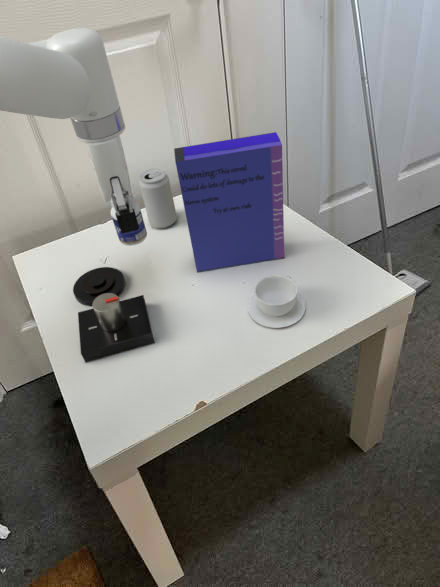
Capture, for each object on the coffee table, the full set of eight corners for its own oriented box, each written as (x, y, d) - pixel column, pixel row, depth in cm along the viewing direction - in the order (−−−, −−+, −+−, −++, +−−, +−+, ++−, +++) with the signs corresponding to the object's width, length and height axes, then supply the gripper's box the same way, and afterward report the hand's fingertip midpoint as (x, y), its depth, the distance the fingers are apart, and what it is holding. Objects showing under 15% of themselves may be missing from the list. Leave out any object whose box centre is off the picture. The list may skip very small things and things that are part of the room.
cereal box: (279, 243, 94) (275, 131, 77) (284, 258, 90) (282, 143, 74) (195, 257, 94) (173, 147, 77) (197, 272, 90) (175, 160, 74)
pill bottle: (117, 233, 86) (104, 192, 80) (144, 226, 87) (133, 184, 81) (121, 249, 82) (108, 207, 76) (150, 241, 83) (138, 199, 77)
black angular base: (85, 362, 77) (80, 353, 75) (82, 321, 84) (77, 311, 82) (155, 343, 78) (151, 332, 76) (146, 304, 85) (143, 294, 83)
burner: (76, 312, 86) (72, 303, 84) (73, 278, 93) (70, 270, 92) (128, 298, 87) (125, 289, 86) (122, 266, 94) (119, 258, 93)
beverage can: (146, 219, 106) (133, 172, 97) (171, 210, 107) (161, 163, 99) (155, 233, 101) (142, 186, 93) (181, 224, 103) (172, 176, 94)
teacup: (289, 337, 76) (289, 318, 72) (238, 317, 80) (235, 298, 77) (314, 299, 81) (315, 279, 78) (265, 282, 86) (264, 263, 83)
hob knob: (102, 334, 77) (92, 313, 74) (99, 317, 81) (90, 295, 77) (127, 327, 78) (119, 306, 74) (124, 310, 81) (116, 288, 77)
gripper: (71, 108, 75) (103, 202, 88) (76, 152, 63) (112, 254, 75) (116, 98, 76) (141, 193, 89) (130, 140, 64) (156, 243, 76)
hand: (128, 220), depth 82 cm, fingers closed on pill bottle, 5 cm apart
